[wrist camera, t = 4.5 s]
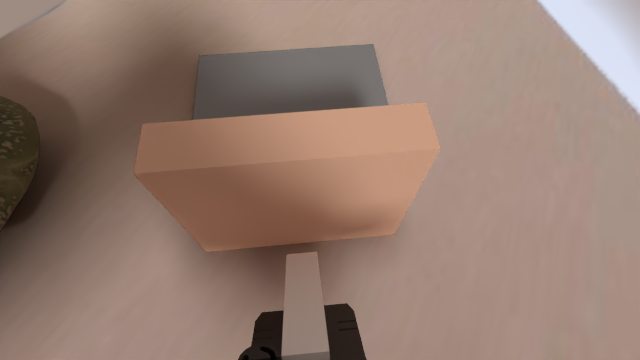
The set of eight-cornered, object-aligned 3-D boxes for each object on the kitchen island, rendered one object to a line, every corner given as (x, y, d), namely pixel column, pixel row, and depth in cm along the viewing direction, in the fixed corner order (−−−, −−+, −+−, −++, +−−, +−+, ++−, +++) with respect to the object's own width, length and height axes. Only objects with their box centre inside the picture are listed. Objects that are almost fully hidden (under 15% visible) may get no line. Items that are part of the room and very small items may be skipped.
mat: (406, 188, 24) (407, 185, 24) (186, 207, 24) (184, 204, 23) (372, 47, 31) (373, 44, 31) (200, 59, 30) (199, 55, 30)
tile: (394, 234, 23) (440, 148, 14) (206, 252, 22) (133, 173, 13) (386, 200, 24) (425, 101, 15) (209, 216, 23) (142, 122, 15)
